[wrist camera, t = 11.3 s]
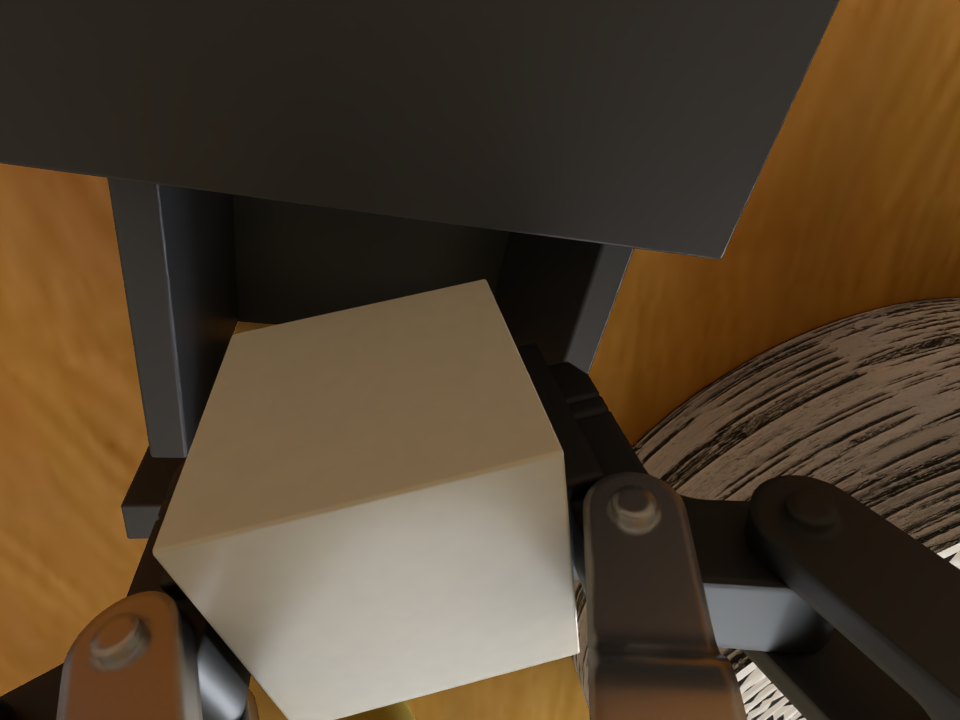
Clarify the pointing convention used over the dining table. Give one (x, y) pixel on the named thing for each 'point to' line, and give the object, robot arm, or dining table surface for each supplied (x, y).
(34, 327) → the dining table surface
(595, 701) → the robot arm
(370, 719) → the flower pot
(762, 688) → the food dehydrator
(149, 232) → the drawer
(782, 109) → the dark grey cube
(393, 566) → the block
